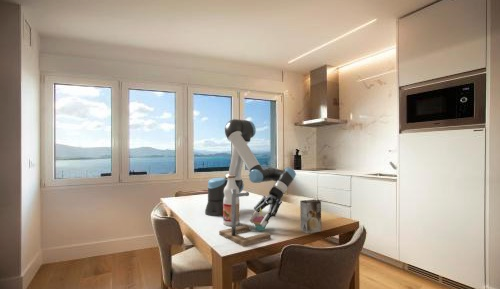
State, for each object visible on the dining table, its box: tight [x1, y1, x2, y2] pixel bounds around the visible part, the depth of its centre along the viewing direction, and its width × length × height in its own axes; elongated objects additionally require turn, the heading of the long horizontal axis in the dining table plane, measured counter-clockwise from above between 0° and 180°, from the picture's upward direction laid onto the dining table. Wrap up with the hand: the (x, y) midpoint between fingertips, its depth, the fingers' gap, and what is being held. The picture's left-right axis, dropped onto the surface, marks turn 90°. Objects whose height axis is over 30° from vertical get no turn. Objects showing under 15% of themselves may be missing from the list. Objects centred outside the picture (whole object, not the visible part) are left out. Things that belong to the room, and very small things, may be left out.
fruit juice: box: [222, 175, 240, 227], centre depth 158 cm, size 9×9×28 cm
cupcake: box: [252, 207, 270, 232], centre depth 146 cm, size 9×8×12 cm
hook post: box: [231, 189, 250, 236], centre depth 133 cm, size 2×10×22 cm, turn 128°
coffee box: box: [299, 199, 322, 234], centre depth 144 cm, size 9×6×16 cm
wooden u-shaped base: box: [218, 224, 272, 247], centre depth 135 cm, size 20×17×2 cm
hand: (256, 223), depth 144 cm, fingers open, 9 cm apart
